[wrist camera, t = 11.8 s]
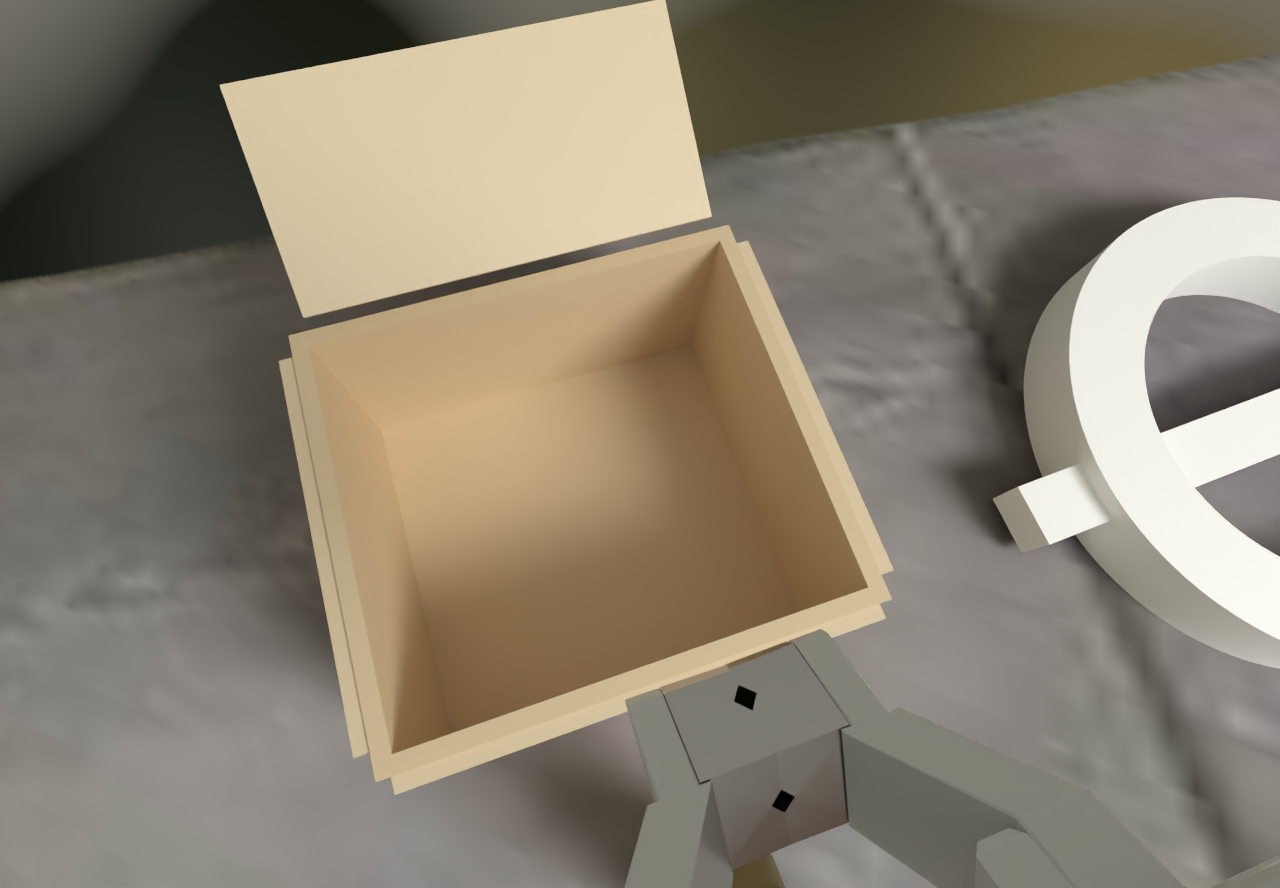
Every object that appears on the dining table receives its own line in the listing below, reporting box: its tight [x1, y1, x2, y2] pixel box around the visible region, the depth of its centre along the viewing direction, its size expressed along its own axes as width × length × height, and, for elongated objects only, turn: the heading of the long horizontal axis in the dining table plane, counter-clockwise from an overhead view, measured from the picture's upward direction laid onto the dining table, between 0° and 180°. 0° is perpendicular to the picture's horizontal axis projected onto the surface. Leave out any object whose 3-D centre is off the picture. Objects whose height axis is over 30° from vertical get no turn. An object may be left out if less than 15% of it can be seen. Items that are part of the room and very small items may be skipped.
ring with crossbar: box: [993, 198, 1280, 668], centre depth 41 cm, size 28×28×5 cm
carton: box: [279, 225, 894, 795], centre depth 33 cm, size 19×21×11 cm
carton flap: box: [220, 0, 712, 318], centre depth 29 cm, size 1×18×9 cm
